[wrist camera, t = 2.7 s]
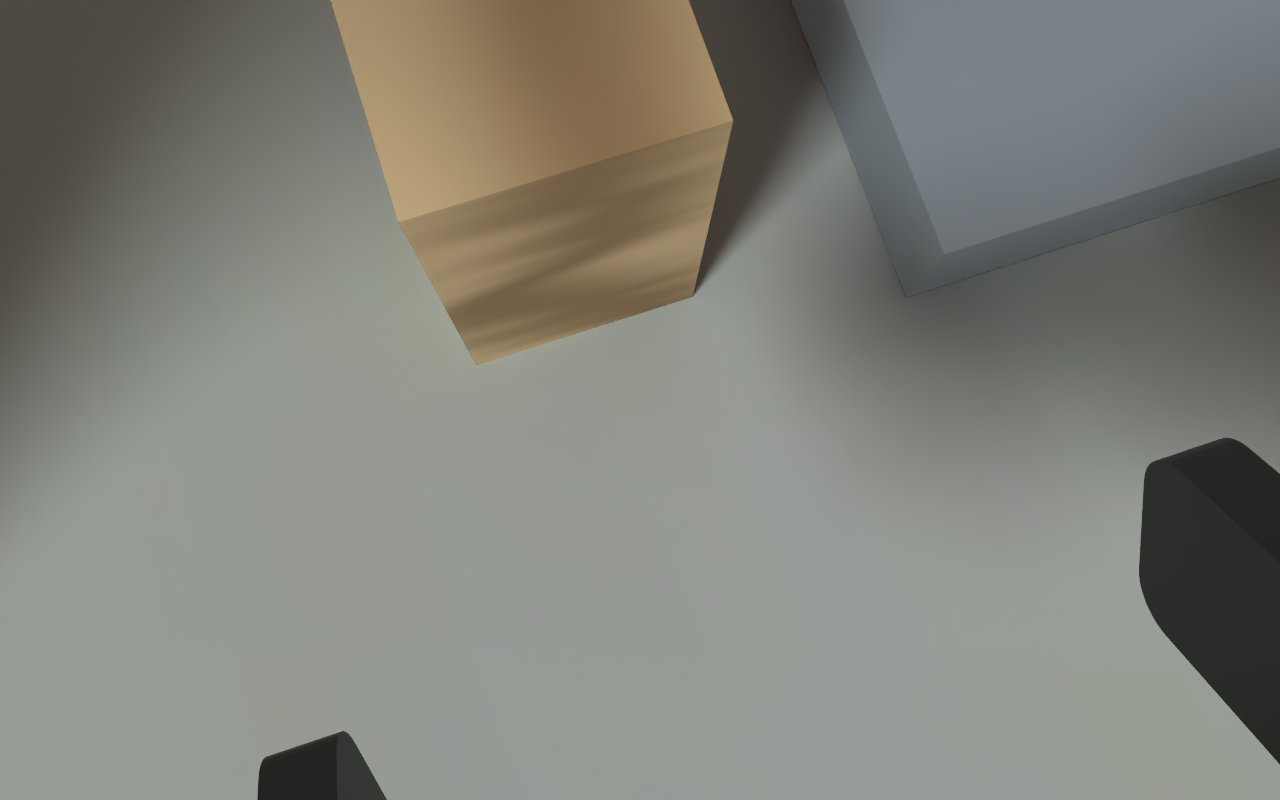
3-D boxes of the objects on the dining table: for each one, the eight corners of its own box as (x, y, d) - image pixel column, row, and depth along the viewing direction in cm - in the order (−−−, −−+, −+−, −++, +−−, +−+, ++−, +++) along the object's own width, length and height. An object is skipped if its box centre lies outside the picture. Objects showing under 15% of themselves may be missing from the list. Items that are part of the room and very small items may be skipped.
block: (476, 364, 25) (398, 222, 16) (412, 160, 26) (305, -83, 17) (692, 296, 25) (733, 120, 16) (622, 96, 26) (624, -172, 17)
